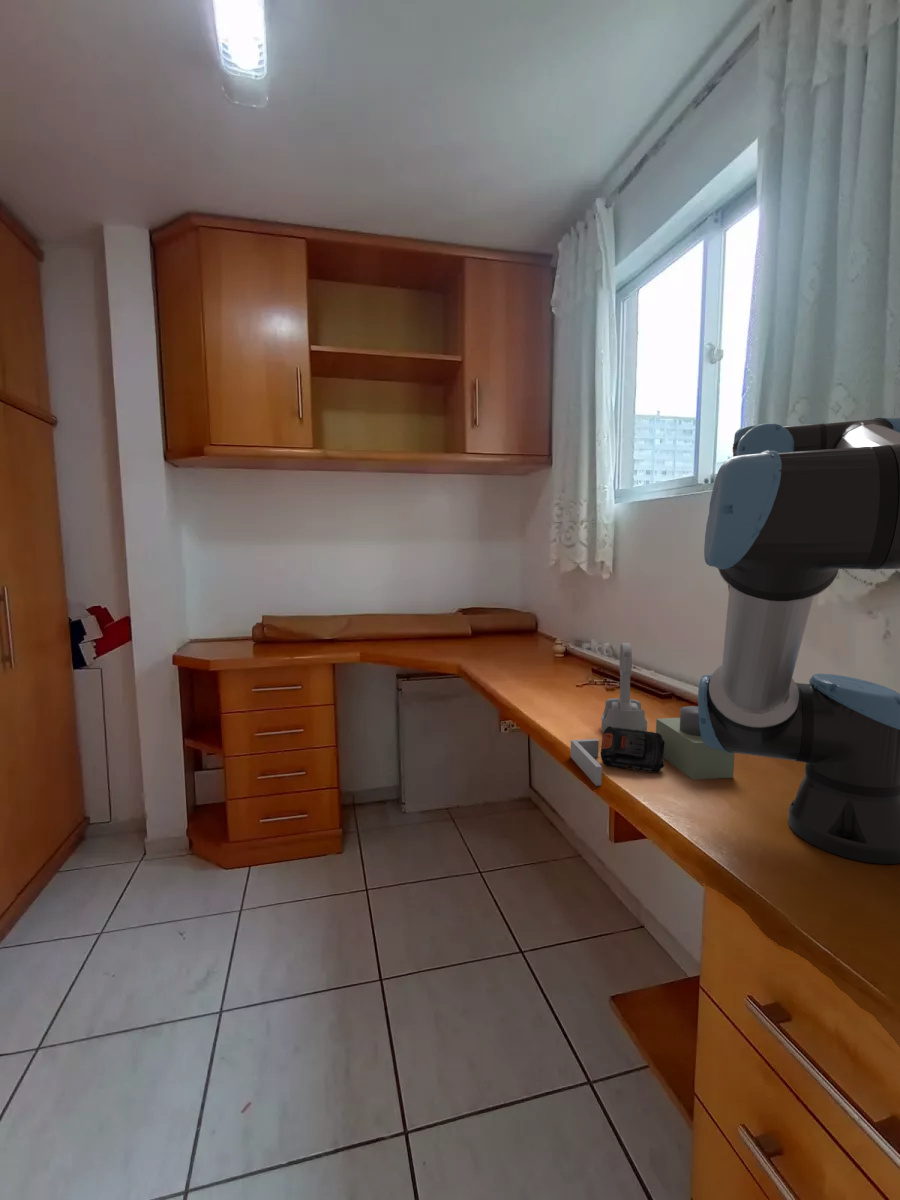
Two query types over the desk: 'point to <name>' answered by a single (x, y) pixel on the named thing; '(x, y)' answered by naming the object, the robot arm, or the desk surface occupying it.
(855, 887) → the desk surface
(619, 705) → the engine component
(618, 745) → the battery
